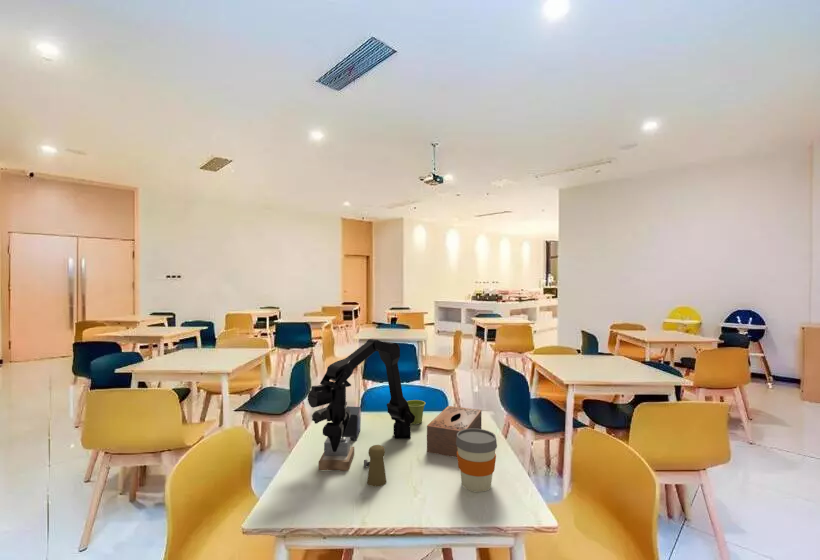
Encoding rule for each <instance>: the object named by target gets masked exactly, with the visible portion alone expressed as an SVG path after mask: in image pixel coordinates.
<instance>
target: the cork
mask: <svg viewBox="0 0 820 560" xmlns="http://www.w3.org/2000/svg"><path fill="white" fill-rule="evenodd" d="M385 454H386V450H385V447H384V446H383V445H380V444H373V445H372V446H370V447H369V449H368V456H369V462H370V464H369V466H368V471H367V481H366V483H367V485H368V486H370V487H374V488H378V487H382V486H384V485H386V483H387V476H386V467H385V461H384V457H385Z"/></svg>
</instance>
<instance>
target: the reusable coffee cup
mask: <svg viewBox="0 0 820 560" xmlns="http://www.w3.org/2000/svg"><path fill="white" fill-rule="evenodd" d="M456 445H457V448H458V451H457V467H458V470H459V472H460V478H461V479H460V480H461V485H462V487H463V488H464V489H465V490H468V491H470V492H473V493H481V492H487V491H488V490H490V489H491V487H492V481H493V473H494V472H495V467H496V459H497V454H496V451H497V450H496V449H497V448H498V444H497V436H496V434H494V432H492V431H489V430H486V429H484V428H483V429H482V428H481V429H474V428H473V429H464V430H461V431H459V432H458V433H457V438H456Z"/></svg>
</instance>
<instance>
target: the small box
mask: <svg viewBox="0 0 820 560" xmlns="http://www.w3.org/2000/svg"><path fill="white" fill-rule="evenodd" d="M346 409H349V410H350V411H351V416H350V420H349V422H348V425H347V427H346V430H345V433H344V435H343V437H350V441H354V442H355V441H357V440H358V438H359V435H360V433H361V427H362V425H361V421H362V420H361V419H362V418H361V417H362V416H361V415H362V412H361V411H362V410H361V409H362V408H361V406H348V405H346ZM346 418H348V417H346Z"/></svg>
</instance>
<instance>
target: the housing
mask: <svg viewBox="0 0 820 560" xmlns="http://www.w3.org/2000/svg"><path fill="white" fill-rule="evenodd" d="M323 444H324V445H323V453H324V456H348V454H349V451H350V447H351V440H350V437H341V440H340V443H339V446H338V448H337V451H336V452H333V450H332V446H331V442H330V439H329V438H328V437H327V436H326V439H325V440H324V442H323Z"/></svg>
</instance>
